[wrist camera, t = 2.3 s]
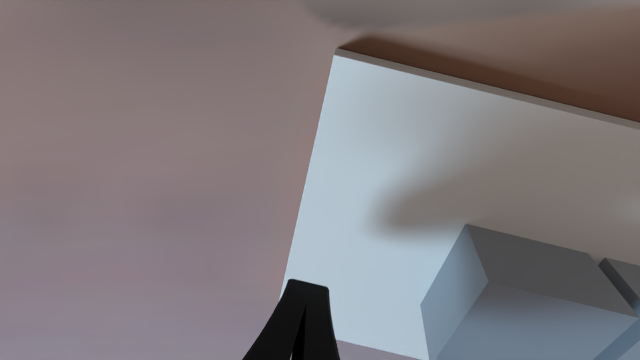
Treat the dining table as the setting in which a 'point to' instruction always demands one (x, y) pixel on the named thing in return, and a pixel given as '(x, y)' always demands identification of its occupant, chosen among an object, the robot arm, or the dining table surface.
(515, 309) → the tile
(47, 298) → the dining table surface
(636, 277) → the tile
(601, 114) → the board
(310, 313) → the robot arm
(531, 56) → the dining table surface
